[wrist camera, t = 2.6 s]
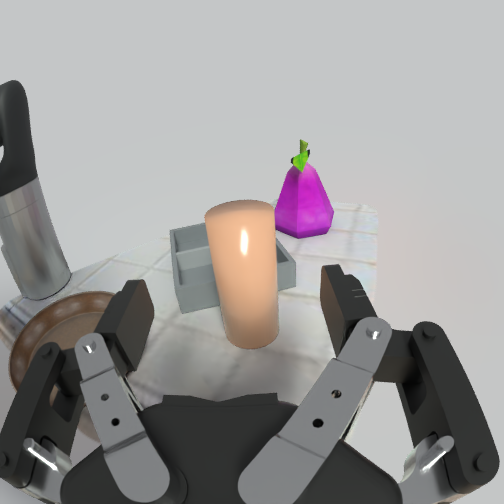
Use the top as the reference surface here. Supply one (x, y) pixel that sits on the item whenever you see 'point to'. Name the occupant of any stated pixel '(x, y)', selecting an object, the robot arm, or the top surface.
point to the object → (56, 330)
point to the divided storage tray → (209, 268)
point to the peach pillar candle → (245, 270)
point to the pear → (303, 200)
